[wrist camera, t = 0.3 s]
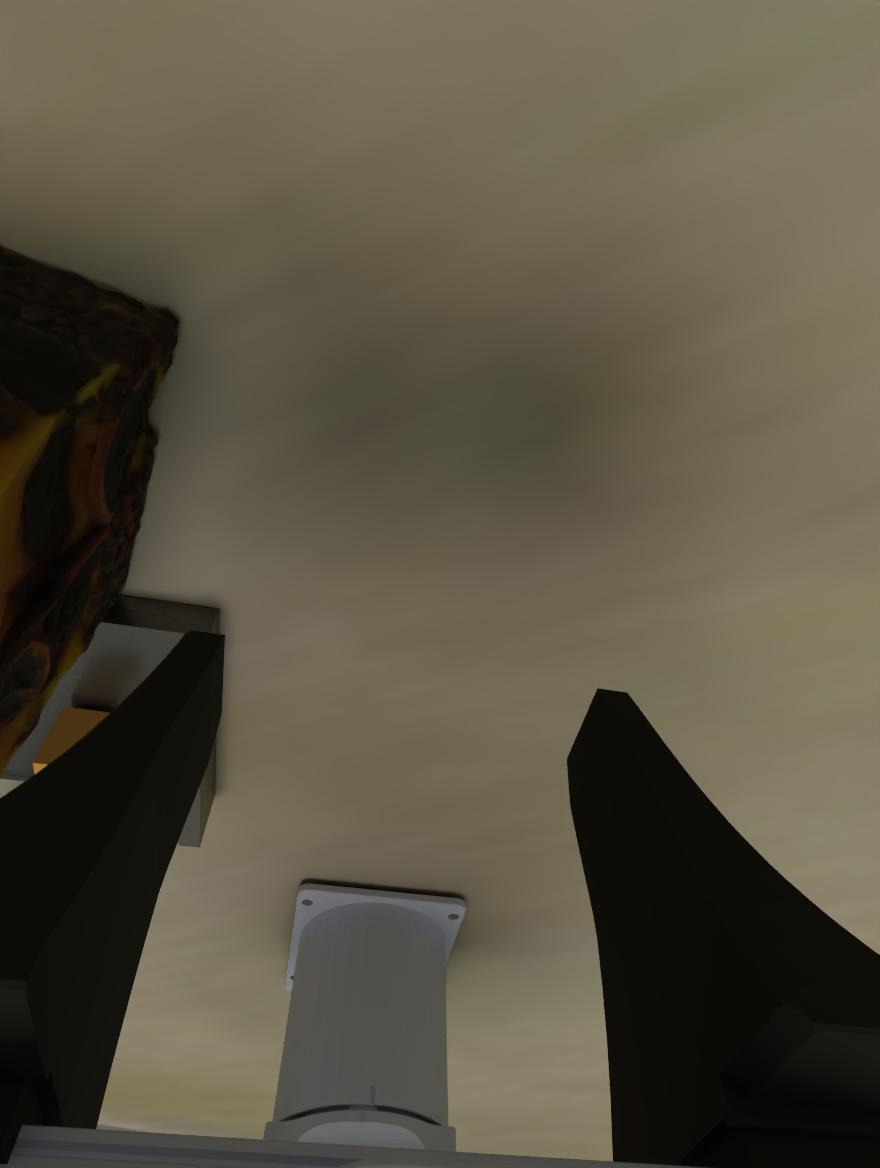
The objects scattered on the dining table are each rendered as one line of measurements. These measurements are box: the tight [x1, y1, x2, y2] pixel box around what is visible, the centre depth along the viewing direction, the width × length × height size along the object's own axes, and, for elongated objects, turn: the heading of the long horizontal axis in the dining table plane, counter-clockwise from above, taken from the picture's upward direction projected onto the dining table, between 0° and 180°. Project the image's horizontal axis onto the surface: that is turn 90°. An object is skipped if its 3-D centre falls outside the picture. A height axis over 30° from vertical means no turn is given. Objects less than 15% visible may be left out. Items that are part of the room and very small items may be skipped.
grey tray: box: [0, 595, 220, 847], centre depth 27 cm, size 10×14×2 cm
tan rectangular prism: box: [33, 707, 110, 774], centre depth 25 cm, size 2×2×2 cm
